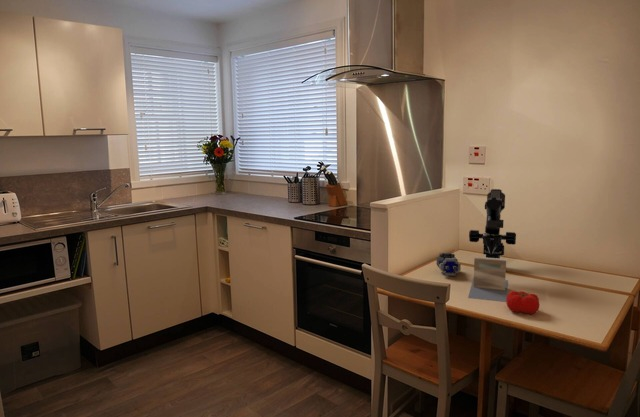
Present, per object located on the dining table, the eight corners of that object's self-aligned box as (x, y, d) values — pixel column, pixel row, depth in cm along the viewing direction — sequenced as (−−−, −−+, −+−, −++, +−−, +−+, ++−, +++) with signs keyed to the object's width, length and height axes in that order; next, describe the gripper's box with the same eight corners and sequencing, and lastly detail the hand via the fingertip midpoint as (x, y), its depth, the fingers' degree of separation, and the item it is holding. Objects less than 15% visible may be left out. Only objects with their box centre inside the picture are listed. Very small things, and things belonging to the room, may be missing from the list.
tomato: (537, 318, 160) (538, 300, 159) (503, 313, 165) (504, 295, 164) (540, 309, 168) (541, 291, 167) (507, 304, 173) (508, 287, 172)
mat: (473, 278, 205) (473, 277, 205) (507, 281, 200) (507, 280, 200) (467, 298, 180) (467, 297, 180) (507, 303, 174) (507, 302, 174)
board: (474, 284, 195) (475, 256, 193) (505, 287, 191) (506, 259, 189) (473, 287, 192) (474, 258, 190) (504, 290, 188) (506, 261, 186)
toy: (441, 260, 203) (435, 251, 218) (441, 279, 205) (435, 269, 219) (461, 260, 203) (454, 251, 218) (461, 279, 204) (454, 269, 219)
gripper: (470, 211, 202) (466, 242, 194) (516, 213, 195) (515, 245, 187) (471, 226, 211) (468, 256, 202) (516, 228, 204) (514, 259, 195)
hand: (491, 253), depth 196 cm, fingers closed
